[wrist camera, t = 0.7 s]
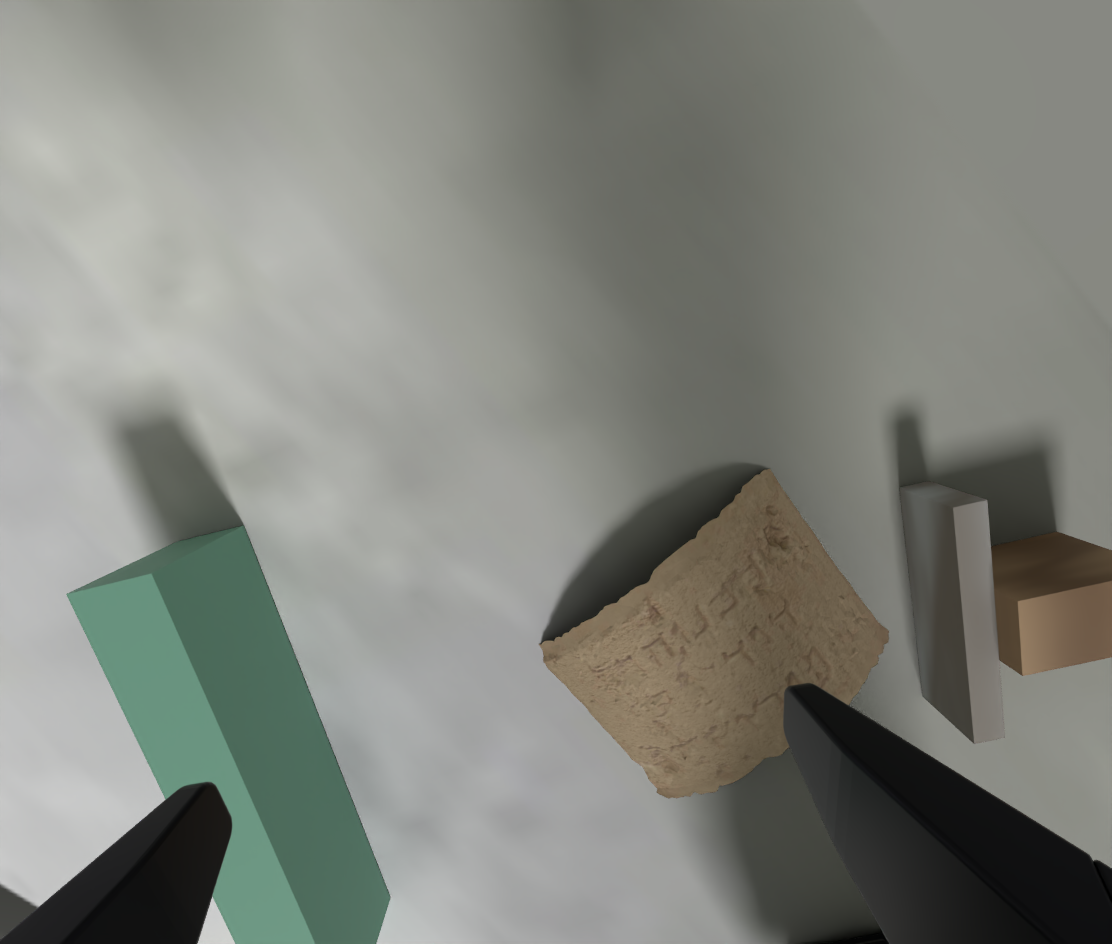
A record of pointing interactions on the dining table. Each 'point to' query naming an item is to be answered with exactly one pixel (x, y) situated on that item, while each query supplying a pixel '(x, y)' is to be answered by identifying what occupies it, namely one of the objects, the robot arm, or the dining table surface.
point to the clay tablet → (720, 645)
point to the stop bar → (237, 736)
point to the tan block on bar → (996, 604)
